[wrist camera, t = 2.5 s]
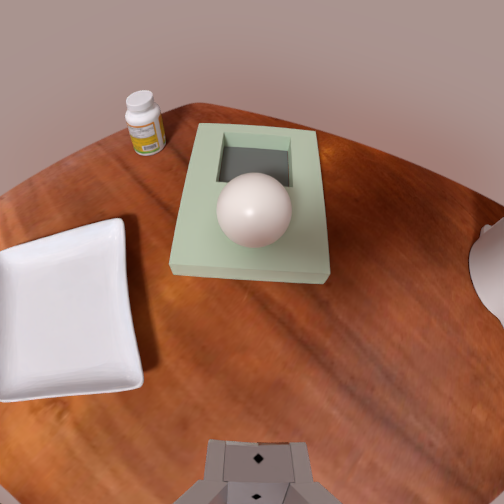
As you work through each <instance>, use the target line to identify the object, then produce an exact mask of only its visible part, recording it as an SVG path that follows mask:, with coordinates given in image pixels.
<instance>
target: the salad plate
mask: <svg viewBox="0 0 504 504" xmlns="http://www.w3.org/2000/svg"><path fill="white" fill-rule="evenodd" d="M143 382H144V374H143V369H142V364H141V359H140V354H139V350H138V345H137V341H136V336H135V331H134V326H133V320H132V315H131V308H130V301H129V292H128V283H127V271H126V237H125V226H124V222H123V220H122V219H121V218H115V219H110V220H105V221H101V222H97V223H93V224H89V225H86V226H82V227H78V228H75V229H71V230H68V231H65V232H61V233H58V234H54V235H51V236H48V237H44V238H41V239H38V240H34V241H31V242H27V243H24V244H21V245H17V246H14V247H11V248H8V249H5V250H2V251H0V402H17V401H25V400H33V399H42V398H52V397H61V396H73V395H86V394H98V393H110V392H119V391H127V390H132V389H136V388H139V387H141V386H142V385H143Z"/></svg>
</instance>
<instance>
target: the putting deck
mask: <svg viewBox="0 0 504 504" xmlns="http://www.w3.org/2000/svg"><path fill="white" fill-rule="evenodd" d="M223 149H224V153H223ZM287 151H288V152H287ZM222 156H223V160H222ZM221 162H222V166H221ZM288 164H289V180H288ZM220 169H221V173H220ZM246 173H262V174H266V175H269V176H271V177H273V178H274V179H276V180H277V181H278V182H280V183H281V184H282V185H283V187H284V188H285V189H286V191H287V193H288V195H289V197H290V200H291V205H292V216H291V221H290V223H289V226H288V228H287V230H286V231H285V233H284V234H283V235H282V236H281V237H280V238H279V239H278V240H277V241H275V242H274V243H272V244H270V245H267V246H264V247H260V248H248V247H244V246H241V245H238V244H236V243H235V242H233V241H232V240H230V239H229V238H228V237H227V236H226V235H225V234H224V232H223V231H222V229H221V227H220V225H219V223H218V220H217V214H216V207H217V201H218V198H219V195H220V193H221V191H222V190H223V188H224V187H225V186H226V185H227V183H229V182H230V181H231V180H232V179H234V178H235V177H237V176H240V175H242V174H246ZM219 176H220V180H219ZM169 265H170V267H171V270H172V272H173V275H184V276H198V277H212V278H226V279H242V280H258V281H275V282H293V283H312V284H324V283H325V281H326V280H327V278H328V277H329V275H330V262H329V249H328V236H327V225H326V214H325V204H324V195H323V186H322V177H321V169H320V161H319V153H318V146H317V138H316V132H315V131H307V130H298V129H288V128H278V127H266V126H252V125H235V124H211V123H199V126H198V130H197V134H196V138H195V142H194V146H193V150H192V155H191V159H190V163H189V167H188V172H187V176H186V181H185V185H184V190H183V194H182V199H181V204H180V208H179V213H178V218H177V223H176V228H175V234H174V239H173V244H172V250H171V255H170V261H169Z"/></svg>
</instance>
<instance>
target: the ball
mask: <svg viewBox="0 0 504 504" xmlns="http://www.w3.org/2000/svg"><path fill="white" fill-rule="evenodd" d="M216 214H217V220H218V223H219V225H220V227H221V229H222V231H223V232H224V234H225V235H226V236H227V237H228V238H229V239H230V240H232V241H233V242H235V243H236V244H238V245H241V246H244V247H248V248H260V247H264V246H267V245H270V244H272V243H274V242H275V241H277V240H278V239H279V238H280V237H281V236H282V235H283V234H284V233H285V231H286V230H287V228H288V226H289V223H290V221H291V216H292V205H291V200H290V197H289V195H288V193H287V191H286V189H285V188H284V187H283V185H282V184H281V183H280V182H278V181H277V180H276V179H274V178H273V177H271V176H269V175H266V174H262V173H246V174H242V175H240V176H237V177H235V178H234V179H232V180H231V181H230V182H229V183H227V185H226V186H225V187H224V188H223V190H222V191H221V193H220V195H219V198H218V201H217V207H216Z"/></svg>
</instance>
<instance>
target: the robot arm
mask: <svg viewBox="0 0 504 504" xmlns="http://www.w3.org/2000/svg"><path fill="white" fill-rule="evenodd" d="M469 268H470V274H471V278H472V282H473V285H474V287H475V290H476V292H477V294H478V296H479V298H480V299H481V301H482V302H483V304H484V305H485V306H486V307H487V309H488V310H489V311H490V312H492V313H493V314H494V315H495V316H496V317H497V318H498V319H499V320H500V322H501V323H502V325H503V327H504V217H503V218H502V219H501V220H499V221H498V222H497V223H496V224H494V225H493V226H490V225H485V226H484V227H482V229H481V233H480V237H479V239H478V240H477V241H476V242H475V243H474V245H473V246H472V248H471V251H470V256H469ZM225 443H226V446H225ZM0 504H1V503H0ZM173 504H342V503H341V502H340V501H339V500H338V499H337V498H335V497H334V496H333V495H332V494H331V493H330V492H329V491H328V490H326V489H325V488H324V487H323V486H322V485H321V484H320V483H319V482H313V477H312V471H311V466H310V460H309V455H308V450H307V445H306V443H305V442H298V443H288V442H279V443H262V442H257V443H248V442H235V441H223V440H212V439H209V442H208V448H207V456H206V464H205V473H204V480H198V481H197V482H196V483H195V484H194V485H193V486H192V487H191V488H189V489H188V490H187V491H186V492H185V493H184V494H183V495H182V496H181V497H180V498H179V499H177V500H176V501H175V502H174V503H173Z"/></svg>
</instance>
